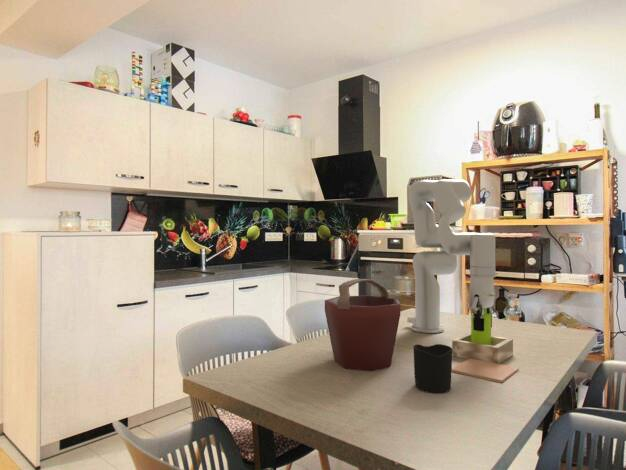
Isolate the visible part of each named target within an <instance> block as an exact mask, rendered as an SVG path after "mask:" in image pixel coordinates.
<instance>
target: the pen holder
mask: <svg viewBox="0 0 626 470" xmlns="http://www.w3.org/2000/svg"><path fill="white" fill-rule="evenodd" d="M412 347H413V349H412V350H413V373H414V386H415V387H416V388H417V389H418V390H420V391H422V392H425V393H431V394H442V393H448V392H449V391H450V390H451V389H452V387H451V385H452V373H453V372H452V368H453V366H452V364H453V356H452V347H451V346H449V345H447V344H443V343H442V344H441V343H439V344H438V343H437V344H434V345H427V346H426V345H422V344H415V345H413V346H412Z"/></svg>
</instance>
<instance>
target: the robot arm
mask: <svg viewBox="0 0 626 470" xmlns="http://www.w3.org/2000/svg"><path fill="white" fill-rule="evenodd" d="M408 190H409V191H408V201H409V205H410V207H411V210H412V214H413V215H412V216H413V228H414V229H413V230H414V240H415V241H414V242H415V244H416V246H418V247H419V248H423V249H424V248H425V249H439V250H423V251H419V252H417V253H415V254H414V255H413V257H412V268H413V272H414V284H415V285H414V287H415V288H414V290H415V291H414V292H415V293H414V294H415V295H414V296H415V299H414V300H415V301H414V306H415V308H414V309H415V310H414V311H415V312H414V313H415V315H414V317H412V316H411V317H409V316H408V317H407V319H406V321H407V323H410V324H411V323H412V325H411V330H412V331H414V332H418V333H422V334H423V333H424V334H438V333H442V332H444V331H445V328H444V327H443V326H441V325H440V324H441V320H440V319H441V314H440V313H441V302H440V301H441V298H440V297H441V292H440V291H441V289H440V284H439V282H438V280H437V278H436V277H435V276H443V275H446V276H447V275H452V274H454V273H455V272H456V270H457V266H458V257H457V256H469V276H470V280H469V281H470V282H469V289H468V290H469V293H468V307H469V308H470V309H471V311H472V313H473V329H474V330H476V331H484V318H483V314H484V309H486V308H487V313H489V314H491V328H493V306H494V305H495V295H494V296H490V294H495V282H494V278H496V276H497V275H496V235H494V234H493V233H489V232H488V233H486V232H485V233H483V232H482V233H480V232H454V230H453V227H451V226H450V225H451V224H454V223H456V222H458V221H459V220H461V219H462V218H463V217H464V216H465V214H466V211H467V210H466V206H465V204H464V203H465V202H468V201H469V200H470V198H471V195H472V189H471V186H470V184H469V183H468V181H466V180H464V179H447V178H446V179H445V178H444V179H440V180H435V179H422V180H416V181H414V182H413V183H412V184H411V185H410V187H409V189H408ZM428 202H435V205H436V207H437V209H438V211H439V213H440V215H441V217H440V219H439V221H438V224H437V222H436V213H435V211H434V209H433V208H432V206H431V205H430V204H429V203H428ZM478 306H481V308H478ZM479 310H480V311H481V313H480V311H479Z"/></svg>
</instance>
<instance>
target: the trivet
mask: <svg viewBox="0 0 626 470" xmlns="http://www.w3.org/2000/svg"><path fill="white" fill-rule="evenodd" d="M519 370H520V369H519V367H516V366H511V365H508V364H507V365H505V364H501V363H500V364H497V363H491V362H486V361H481V360H476V359H466V360H464V361H462V362H461V363H459V364H457V365H455V366H454V367H453V366H452V372H451V373H456V374H461V375H465V376H471V377H474V378H479V379H483V380H489V381H492V382H498V383H504V382H505V381H506V380H508V379H509V378H510V377H512V376H513V375H514V374H516V373H517V372H518V371H519Z"/></svg>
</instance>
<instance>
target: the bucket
mask: <svg viewBox="0 0 626 470" xmlns="http://www.w3.org/2000/svg"><path fill="white" fill-rule="evenodd" d="M361 282H367V283H368V284H370V285H371V286H373V287H375V288H377V291H379V294H380V296H378V295H350V287H353V286H354V285H356V284H359V283H361ZM338 292H339V296H335V297H332V298H328V299H326V300H324V313H325V318H326V323H327V329H328V333H329V339H330V346H331V349H332V356H333V359H334V362H335V363H336V364H338V365H339V366H340V367H342V368H344V369H345V370H355V371H362V372H363V371H364V372H373V371H379V370H383V369H387V368H390V367H391V366H392V361H393V354H394V351H395V344H396V339H397V334H398V329H399V322H400V319H401V303H400V301H399V299H397V298H396V297H395V298H394V297H390V293H389V291H388V289H387V288H386V287H385V286H384V285H382V284H381V283H380V282H378V281H377V280H374V279H371V278H369V279H368V278H355V279H354V278H353V279H351V280H348V281H345V282H342V283H341V284H339V285H338Z"/></svg>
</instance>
